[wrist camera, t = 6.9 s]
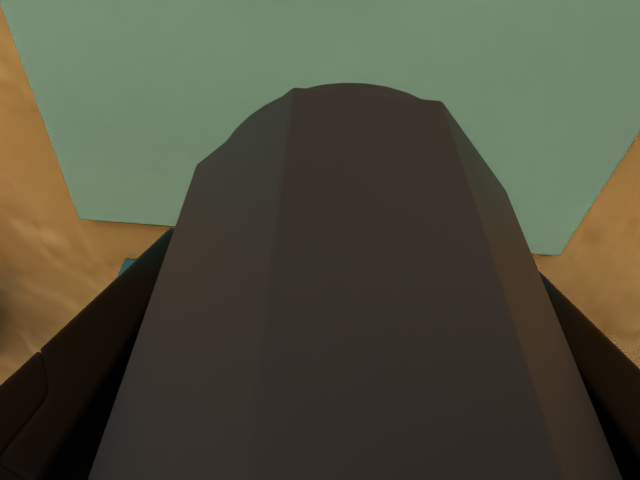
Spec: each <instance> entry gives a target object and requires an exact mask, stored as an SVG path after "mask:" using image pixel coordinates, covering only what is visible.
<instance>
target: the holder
mask: <svg viewBox="0 0 640 480" xmlns="http://www.w3.org/2000/svg"><path fill="white" fill-rule="evenodd" d="M88 480H623V479H622V477H621V474H620V472H619V469H618V467H617V464H616V462H615V459H614V457H613V454H612V452H611V450H610V447H609V445H608V442H607V440H606V437H605V435H604V432H603V430H602V427H601V425H600V422H599V420H598V417H597V415H596V412H595V410H594V407H593V405H592V402H591V400H590V398H589V395H588V393H587V390H586V388H585V385H584V383H583V380H582V378H581V375H580V373H579V370H578V368H577V365H576V363H575V360H574V358H573V355H572V353H571V350H570V348H569V346H568V343H567V341H566V338H565V336H564V333H563V331H562V328H561V326H560V323H559V321H558V318H557V316H556V313H555V311H554V308H553V306H552V303H551V301H550V298H549V296H548V294H547V291H546V289H545V286H544V284H543V281H542V279H541V276H540V274H539V271H538V269H537V266H536V264H535V261H534V259H533V256H532V254H531V251H530V249H529V246H528V244H527V242H526V239H525V237H524V234H523V232H522V229H521V227H520V224H519V222H518V219H517V217H516V214H515V212H514V209H513V207H512V204H511V202H510V199H509V197H508V194H507V192H506V190H505V189H504V187H503V186H502V184H501V183H500V182H499V180H498V179H497V177H496V176H495V175H494V173H493V172H492V170H491V169H490V168H489V166H488V165H487V163H486V162H485V161H484V159H483V158H482V156H481V155H480V154H479V152H478V151H477V149H476V148H475V147H474V145H473V144H472V142H471V141H470V140H469V138H468V137H467V135H466V134H465V133H464V131H463V130H462V129H461V127H460V126H459V124H458V123H457V122H456V120H455V119H454V117H453V116H452V115H451V113H450V112H449V110H448V109H447V108H446V106H445V105H444V103H443V102H441V101H436V100H425V99H420V98H418V97H416V96H413V95H411V94H409V93H407V92H403V91H400V90H397V89H393V88H390V87H386V86H380V85H374V84H367V83H334V84H323V85H318V86H314V87H309V88H292V89H291V90H290V91H288V92H287V93H286V94H285V95H283V96H282V97H280V98H278V99H276V100H274V101H272V102H270V103H268V104H266V105H264V106H263V107H261V108H260V109H258V110H257V111H256V112H254V113H253V114H251V115H250V116H249V117H248V118H247V119H245V120H244V121H243V122H242V123H241V124H240V125H239V126H238V127H237V128H236V129H235V130H234V132H233V133H232V134H231V135H230V137H229V138H228V139H227V141H226V142H225V143H223V144H222V145H221V146H220V147H218V148H217V149H216V150H215V151H213V152H212V153H211V154H210V155H208V156H207V157H206V158H205V159H203V160H202V161H201V162H200V163H198V164H197V166H196V168H195V171H194V174H193V177H192V180H191V183H190V185H189V188H188V191H187V194H186V197H185V200H184V203H183V206H182V209H181V211H180V214H179V217H178V220H177V223H176V226H175V229H174V232H173V235H172V237H171V240H170V243H169V246H168V249H167V252H166V255H165V258H164V261H163V264H162V266H161V269H160V272H159V275H158V278H157V281H156V284H155V287H154V290H153V292H152V295H151V298H150V301H149V304H148V307H147V310H146V313H145V316H144V319H143V321H142V324H141V327H140V330H139V333H138V336H137V339H136V342H135V345H134V347H133V350H132V353H131V356H130V359H129V362H128V365H127V368H126V371H125V374H124V376H123V379H122V382H121V385H120V388H119V391H118V394H117V397H116V400H115V402H114V405H113V408H112V411H111V414H110V417H109V420H108V423H107V426H106V429H105V431H104V434H103V437H102V440H101V443H100V446H99V449H98V452H97V455H96V457H95V460H94V463H93V466H92V469H91V472H90V475H89V478H88Z"/></svg>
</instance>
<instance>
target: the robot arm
mask: <svg viewBox="0 0 640 480" xmlns="http://www.w3.org/2000/svg"><path fill="white" fill-rule="evenodd" d="M174 229H175V228H171V229H169V230H168V231H167V232H166V233H165V234H163V235H162V236H161V237H160V238H159V239H158V240H157V241H156V242H155V243H154V244H153V245H152V246H151V247H150V248H148V249H147V250H146V251H145V252H144V253H143V254H142V255H141V256H140V257H139V258H138V259H137V260H136V261H135V262H133V263H132V264H131V265H130V266H129V267H128V268H127V269H126V270H125V271H124V272H123V273H122V274H121V275H120V276H118V277H117V278H116V279H115V280H114V281H113V282H112V283H111V284H110V285H109V286H108V287H107V288H106V289H105V290H103V291H102V292H101V293H100V294H99V295H98V296H97V297H96V298H95V299H94V300H93V301H92V302H91V303H89V304H88V305H87V306H86V307H85V308H84V309H83V310H82V311H81V312H80V313H79V314H78V315H77V316H76V317H74V318H73V319H72V320H71V321H70V322H69V323H68V324H67V325H66V326H65V327H64V328H63V329H62V330H61V331H59V332H58V333H57V334H56V335H55V336H54V337H53V338H52V339H51V340H50V341H49V342H48V343H47V344H46V345H44V346H43V347H42V348H41V353H40V352H37V353H36V354H35V355H33V356H32V357H31V358H30V359H29V360H28V361H27V362H26V363H25V364H24V365H23V366H22V367H21V368H19V369H18V370H17V371H16V372H15V373H14V374H13V375H12V376H11V377H9V378H8V379H7V380H6V381H5V382H4V383H3V384H2V385H0V480H88V478H89V475H90V472H91V469H92V466H93V463H94V460H95V457H96V455H97V452H98V449H99V446H100V443H101V440H102V437H103V434H104V431H105V429H106V426H107V423H108V420H109V417H110V414H111V411H112V408H113V405H114V402H115V400H116V397H117V394H118V391H119V388H120V385H121V382H122V379H123V376H124V374H125V371H126V368H127V365H128V362H129V359H130V356H131V353H132V350H133V347H134V345H135V342H136V339H137V336H138V333H139V330H140V327H141V324H142V321H143V319H144V316H145V313H146V310H147V307H148V304H149V301H150V298H151V295H152V292H153V290H154V287H155V284H156V281H157V278H158V275H159V272H160V269H161V266H162V264H163V261H164V258H165V255H166V252H167V249H168V246H169V243H170V240H171V237H172V235H173V232H174ZM539 274H540V276H541V279H542V281H543V284H544V286H545V289H546V291H547V294H548V296H549V298H550V301H551V303H552V306H553V308H554V311H555V313H556V316H557V318H558V321H559V323H560V326H561V328H562V331H563V333H564V336H565V338H566V341H567V343H568V346H569V348H570V350H571V353H572V355H573V358H574V360H575V363H576V365H577V368H578V370H579V373H580V375H581V378H582V380H583V383H584V385H585V388H586V390H587V393H588V395H589V398H590V400H591V402H592V405H593V407H594V410H595V412H596V415H597V417H598V420H599V422H600V425H601V427H602V430H603V432H604V435H605V437H606V440H607V442H608V445H609V447H610V450H611V452H612V454H613V457H614V459H615V462H616V464H617V467H618V469H619V472H620V474H621V477H622V479H623V480H640V369H639V368H638V367H637V366H636V365H635V364H634V363H633V362H632V361H631V360H630V359H629V358H628V357H627V356H626V355H625V354H624V353H623V352H622V351H621V350H620V349H619V348H618V347H617V346H616V345H614V344H613V343H612V342H611V341H610V340H609V339H608V338H607V337H606V336H605V335H604V334H603V333H602V332H601V331H600V330H599V329H598V328H597V327H596V326H595V325H594V324H593V323H592V322H591V321H590V320H589V319H588V318H587V317H586V316H585V315H584V314H583V313H582V312H581V311H580V310H579V309H577V308H576V307H575V306H574V305H573V304H572V303H571V302H570V301H569V300H568V299H567V298H566V297H565V296H564V295H563V294H562V293H561V292H560V291H559V290H558V289H557V288H556V287H555V286H554V285H553V284H552V283H551V282H550V281H549V280H548V279H547V278H546V277H545V276H544V275H543V274H542V273H540V272H539Z"/></svg>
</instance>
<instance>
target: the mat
mask: <svg viewBox="0 0 640 480" xmlns="http://www.w3.org/2000/svg"><path fill="white" fill-rule="evenodd" d="M0 5H1V8H2V10H3V13H4V16H5V18H6V21H7V24H8V27H9V29H10V32H11V35H12V37H13V40H14V43H15V46H16V48H17V51H18V54H19V56H20V59H21V62H22V65H23V67H24V70H25V73H26V75H27V78H28V81H29V84H30V86H31V89H32V92H33V94H34V97H35V100H36V103H37V105H38V108H39V111H40V113H41V116H42V119H43V122H44V124H45V127H46V130H47V133H48V135H49V138H50V141H51V143H52V146H53V149H54V152H55V154H56V157H57V160H58V162H59V165H60V168H61V171H62V173H63V176H64V179H65V181H66V184H67V187H68V190H69V192H70V195H71V198H72V200H73V203H74V206H75V209H76V211H77V214H78V217H79V219H84V220H97V221H110V222H123V223H136V224H150V225H163V226H176V223H177V220H178V217H179V214H180V211H181V209H182V206H183V203H184V200H185V197H186V194H187V191H188V188H189V185H190V183H191V180H192V177H193V174H194V171H195V168H196V166H197V164H198V163H200V162H201V161H202V160H203V159H205V158H206V157H207V156H208V155H210V154H211V153H212V152H213V151H215V150H216V149H217V148H218V147H220V146H221V145H222V144H223V143H225V142H226V141H227V139H228V138H229V137H230V135H231V134H232V133H233V132H234V130H235V129H236V128H237V127H238V126H239V125H240V124H241V123H242V122H243V121H244V120H245V119H247V118H248V117H249V116H250V115H251V114H253V113H254V112H256V111H257V110H258V109H260V108H261V107H263V106H264V105H266V104H268V103H270V102H272V101H274V100H276V99H278V98H280V97H282V96H283V95H285V94H286V93H287V92H288V91H290V90H291V89H292V88H309V87H314V86H318V85H323V84H334V83H367V84H374V85H380V86H386V87H390V88H393V89H397V90H400V91H403V92H407V93H409V94H411V95H413V96H416V97H418V98H420V99H425V100H436V101H441V102H443V103H444V105H445V106H446V108H447V109H448V110H449V112H450V113H451V115H452V116H453V117H454V119H455V120H456V122H457V123H458V124H459V126H460V127H461V129H462V130H463V131H464V133H465V134H466V135H467V137H468V138H469V140H470V141H471V142H472V144H473V145H474V147H475V148H476V149H477V151H478V152H479V154H480V155H481V156H482V158H483V159H484V161H485V162H486V163H487V165H488V166H489V168H490V169H491V170H492V172H493V173H494V175H495V176H496V177H497V179H498V180H499V182H500V183H501V184H502V186H503V187H504V189H505V190H506V192H507V194H508V197H509V199H510V202H511V204H512V207H513V209H514V212H515V214H516V217H517V219H518V222H519V224H520V227H521V229H522V232H523V234H524V237H525V239H526V242H527V244H528V246H529V249H530V251H531V254H544V255H557V256H558V255H560V254H561V252H562V251H563V249H564V248H565V246H566V245H567V243H568V241H569V240H570V238H571V237H572V235H573V234H574V232H575V231H576V229H577V228H578V226H579V224H580V223H581V221H582V220H583V218H584V217H585V215H586V214H587V212H588V211H589V209H590V207H591V206H592V204H593V203H594V201H595V200H596V198H597V197H598V195H599V194H600V192H601V191H602V189H603V187H604V186H605V184H606V183H607V181H608V180H609V178H610V177H611V175H612V174H613V172H614V170H615V169H616V167H617V166H618V164H619V163H620V161H621V160H622V158H623V157H624V155H625V153H626V152H627V150H628V149H629V147H630V146H631V144H632V143H633V141H634V140H635V138H636V136H637V135H638V133H639V132H640V0H0Z"/></svg>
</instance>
